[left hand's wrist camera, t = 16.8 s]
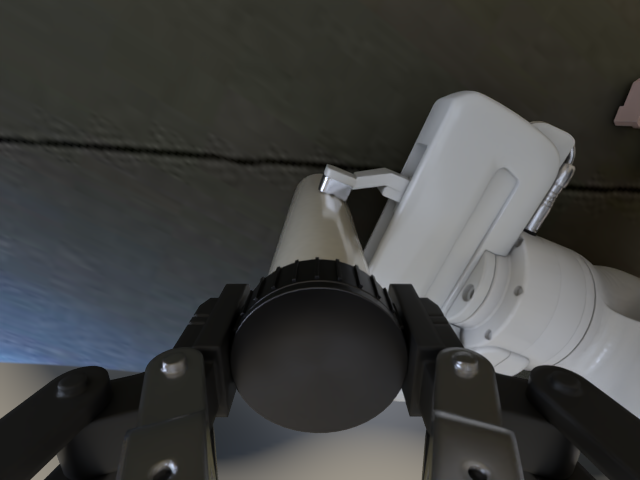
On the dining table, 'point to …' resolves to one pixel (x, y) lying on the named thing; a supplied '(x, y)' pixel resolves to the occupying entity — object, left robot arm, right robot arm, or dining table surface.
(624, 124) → the clamp
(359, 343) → the lid
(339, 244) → the white cylindrical bottle
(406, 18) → the dining table surface
